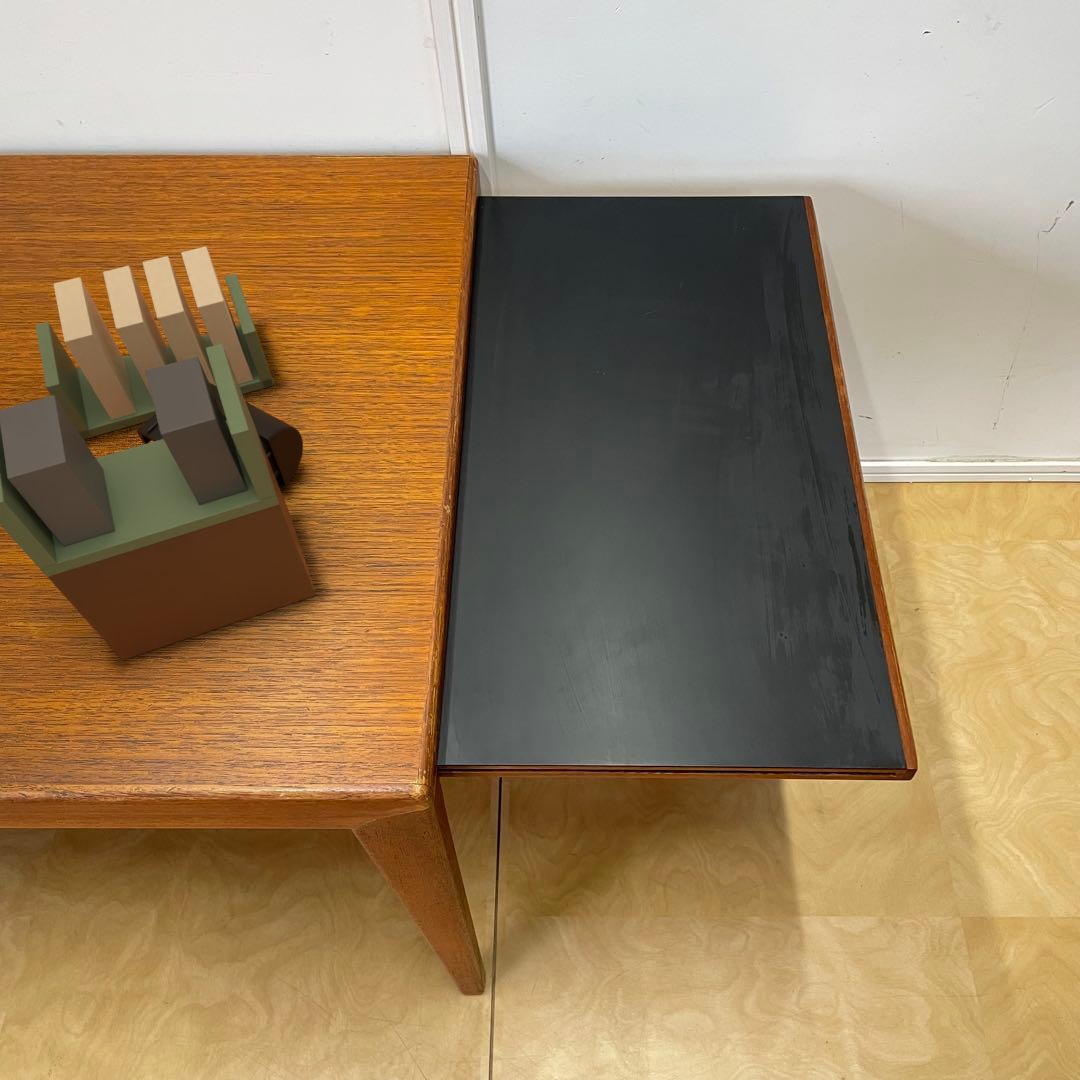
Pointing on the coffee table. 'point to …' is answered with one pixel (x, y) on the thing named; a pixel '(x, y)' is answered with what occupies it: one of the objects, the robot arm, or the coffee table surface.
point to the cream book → (94, 347)
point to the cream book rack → (158, 339)
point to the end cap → (273, 433)
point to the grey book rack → (155, 513)
